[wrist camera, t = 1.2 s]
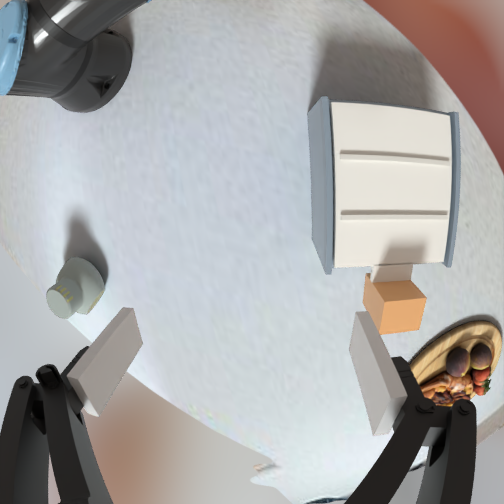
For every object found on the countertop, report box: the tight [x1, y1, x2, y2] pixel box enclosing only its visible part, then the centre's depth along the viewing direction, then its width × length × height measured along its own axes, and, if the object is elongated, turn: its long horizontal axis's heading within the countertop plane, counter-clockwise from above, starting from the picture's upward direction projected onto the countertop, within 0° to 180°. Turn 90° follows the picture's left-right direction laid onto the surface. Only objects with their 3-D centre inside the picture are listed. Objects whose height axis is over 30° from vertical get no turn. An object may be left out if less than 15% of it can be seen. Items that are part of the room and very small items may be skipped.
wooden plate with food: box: [409, 321, 502, 406], centre depth 45 cm, size 32×32×8 cm
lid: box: [330, 102, 452, 335], centre depth 26 cm, size 23×14×7 cm, turn 4°
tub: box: [307, 96, 461, 275], centre depth 31 cm, size 18×16×13 cm
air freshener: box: [46, 257, 105, 319], centre depth 42 cm, size 11×8×10 cm
